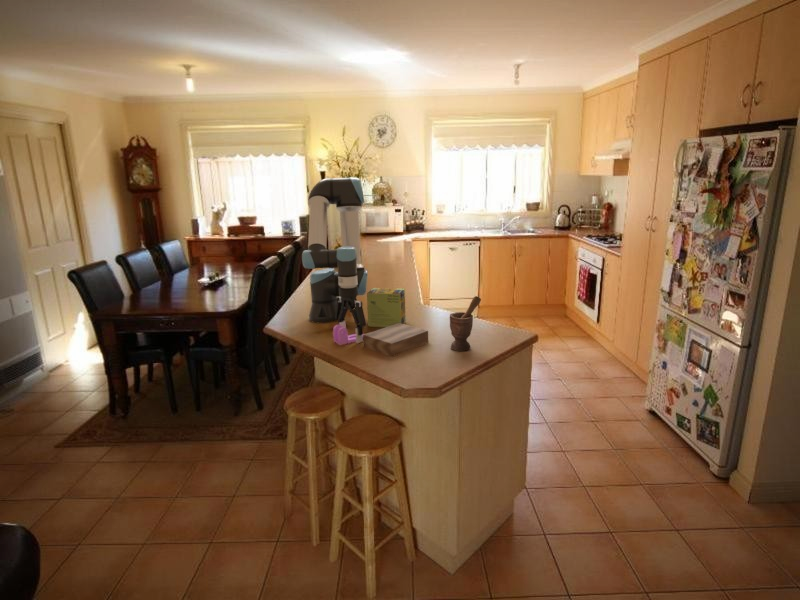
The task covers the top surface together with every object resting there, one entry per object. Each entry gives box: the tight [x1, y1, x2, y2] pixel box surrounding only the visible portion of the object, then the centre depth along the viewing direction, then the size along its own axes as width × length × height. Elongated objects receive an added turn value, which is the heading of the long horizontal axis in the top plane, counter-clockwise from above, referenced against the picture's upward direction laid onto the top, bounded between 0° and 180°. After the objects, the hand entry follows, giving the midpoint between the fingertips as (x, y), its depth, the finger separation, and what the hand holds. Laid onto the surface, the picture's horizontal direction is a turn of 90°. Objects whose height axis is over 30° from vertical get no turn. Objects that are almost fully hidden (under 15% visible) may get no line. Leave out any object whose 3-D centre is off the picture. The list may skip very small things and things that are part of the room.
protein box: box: [366, 287, 407, 328], centre depth 212 cm, size 10×15×16 cm
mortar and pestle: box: [449, 295, 482, 352], centre depth 179 cm, size 12×9×20 cm
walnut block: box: [363, 323, 429, 357], centre depth 186 cm, size 16×20×5 cm
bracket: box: [332, 324, 365, 346], centre depth 193 cm, size 13×6×7 cm, turn 123°
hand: (351, 339), depth 193 cm, fingers open, 10 cm apart
